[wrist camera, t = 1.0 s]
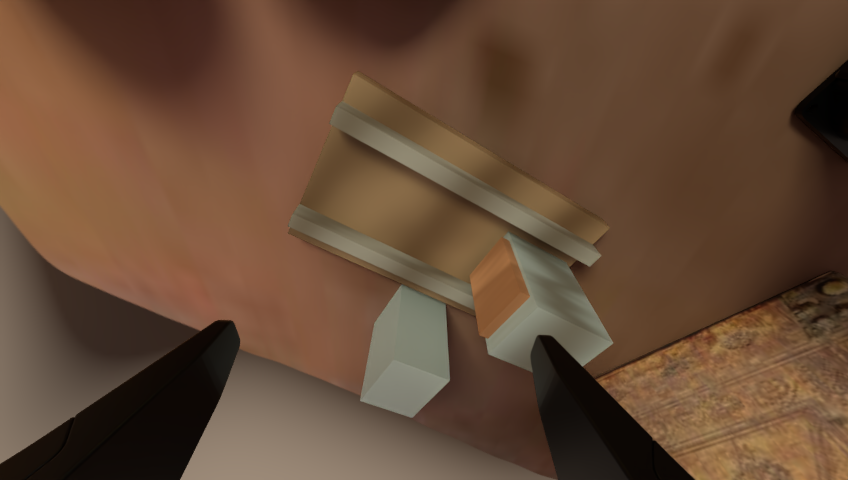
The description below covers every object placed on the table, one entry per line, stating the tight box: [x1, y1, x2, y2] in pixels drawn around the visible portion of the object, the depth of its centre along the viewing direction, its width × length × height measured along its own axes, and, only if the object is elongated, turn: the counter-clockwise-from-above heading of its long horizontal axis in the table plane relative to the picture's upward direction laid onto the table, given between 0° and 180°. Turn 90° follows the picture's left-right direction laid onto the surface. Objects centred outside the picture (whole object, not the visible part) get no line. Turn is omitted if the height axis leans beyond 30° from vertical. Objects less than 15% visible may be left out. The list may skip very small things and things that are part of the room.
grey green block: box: [360, 284, 450, 418], centre depth 25 cm, size 6×4×7 cm
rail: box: [288, 71, 613, 372], centre depth 19 cm, size 18×11×8 cm, turn 60°
